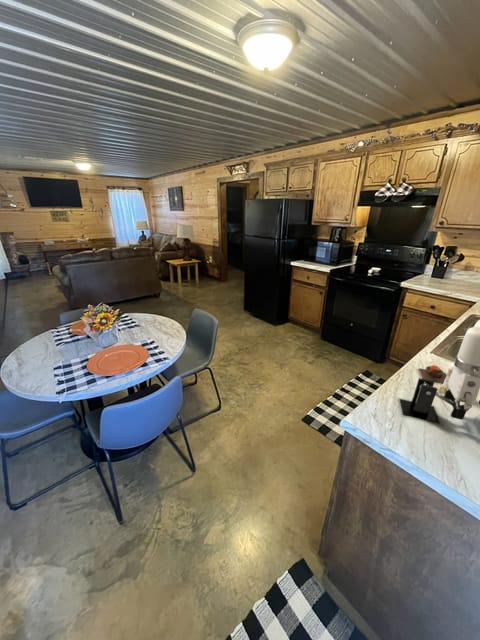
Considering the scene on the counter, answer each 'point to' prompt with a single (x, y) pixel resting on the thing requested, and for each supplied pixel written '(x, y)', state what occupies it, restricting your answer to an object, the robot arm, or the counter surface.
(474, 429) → the counter surface
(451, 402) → the lever
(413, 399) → the bracket
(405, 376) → the counter surface
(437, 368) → the button
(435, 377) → the button block
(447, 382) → the sprinkles bottle
